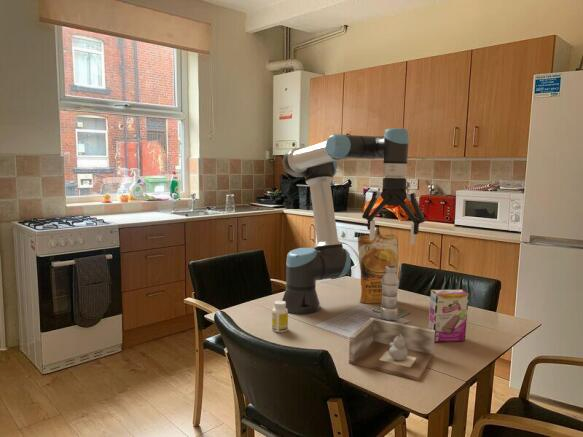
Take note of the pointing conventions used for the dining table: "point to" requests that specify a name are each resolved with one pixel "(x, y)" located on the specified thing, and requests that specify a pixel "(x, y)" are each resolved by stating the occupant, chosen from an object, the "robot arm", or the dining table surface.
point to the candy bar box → (448, 315)
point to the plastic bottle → (389, 294)
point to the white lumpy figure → (398, 349)
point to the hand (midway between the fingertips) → (391, 242)
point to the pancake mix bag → (375, 264)
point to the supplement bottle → (279, 317)
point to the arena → (376, 343)
